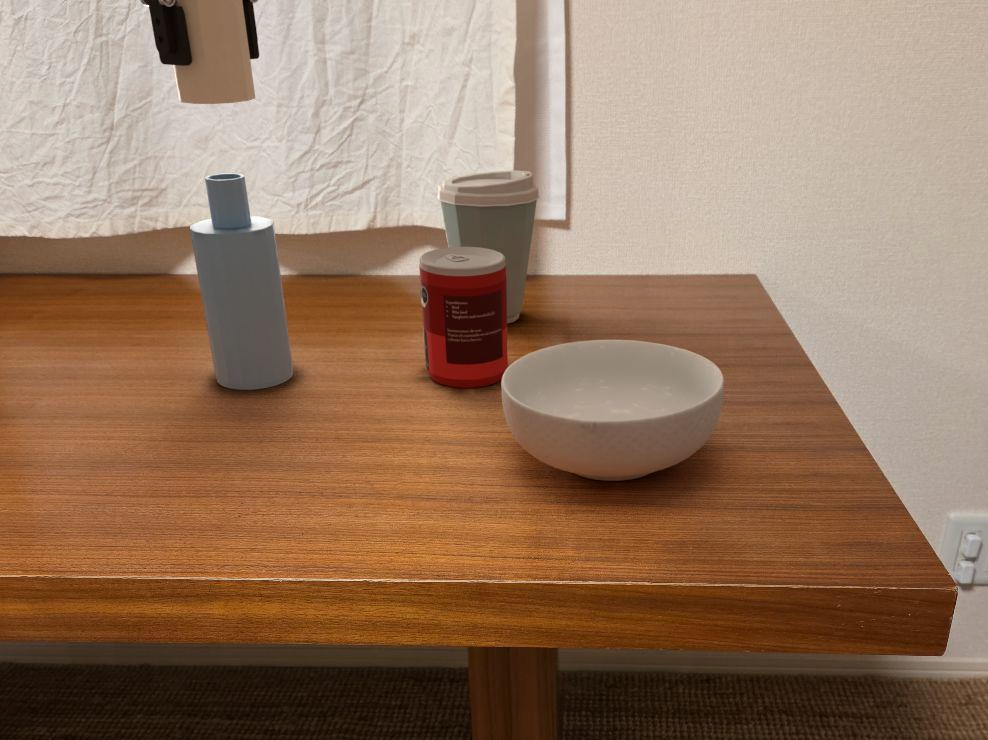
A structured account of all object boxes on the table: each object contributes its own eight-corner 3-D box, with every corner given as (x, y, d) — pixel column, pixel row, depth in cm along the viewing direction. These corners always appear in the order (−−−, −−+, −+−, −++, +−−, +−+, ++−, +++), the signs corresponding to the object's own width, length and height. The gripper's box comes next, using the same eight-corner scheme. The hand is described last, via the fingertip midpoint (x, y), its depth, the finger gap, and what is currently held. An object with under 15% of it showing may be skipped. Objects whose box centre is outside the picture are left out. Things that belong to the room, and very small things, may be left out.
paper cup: (211, 105, 78) (192, -13, 74) (164, 100, 81) (144, -14, 77) (269, 98, 82) (254, -15, 78) (223, 93, 85) (207, -15, 81)
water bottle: (250, 395, 91) (217, 188, 82) (201, 379, 94) (164, 178, 85) (308, 373, 96) (283, 174, 87) (259, 358, 99) (230, 166, 90)
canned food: (460, 354, 100) (455, 242, 94) (525, 370, 96) (523, 254, 90) (408, 377, 95) (399, 259, 89) (475, 395, 91) (470, 273, 85)
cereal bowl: (569, 402, 89) (570, 325, 85) (748, 442, 82) (758, 359, 78) (460, 477, 76) (455, 389, 73) (660, 531, 69) (666, 437, 65)
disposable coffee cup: (433, 331, 106) (424, 182, 99) (452, 301, 116) (446, 163, 108) (533, 334, 105) (532, 184, 98) (544, 303, 114) (544, 165, 107)
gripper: (231, -204, 79) (264, 51, 88) (22, -232, 67) (86, 67, 76) (297, -213, 75) (324, 55, 84) (88, -244, 63) (146, 73, 72)
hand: (210, 58), depth 80 cm, fingers closed on paper cup, 5 cm apart
